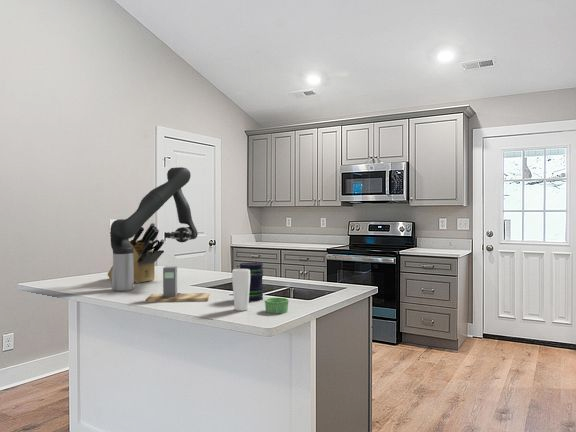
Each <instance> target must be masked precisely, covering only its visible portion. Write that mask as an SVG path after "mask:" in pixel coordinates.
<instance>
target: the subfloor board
mask: <svg viewBox="0 0 576 432" xmlns="http://www.w3.org/2000/svg"><path fill="white" fill-rule="evenodd" d="M210 296H211V293H210V292H200V293H199V292H195V293H194V292H191V293H181V292H177V296H176V297H163V293H151V294H150V295H149V296H147V297H146V299H145V303H178V302H180V303H181V302H185V303H187V302H208V301H209V299H210Z"/></svg>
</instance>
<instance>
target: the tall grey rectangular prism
mask: <svg viewBox="0 0 576 432" xmlns="http://www.w3.org/2000/svg"><path fill="white" fill-rule="evenodd" d="M162 278H163V279H162V288H163V289H162V291H163V293H162V294H163V297H176V296H177V293H178V266H164V267H162Z"/></svg>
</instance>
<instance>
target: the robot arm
mask: <svg viewBox="0 0 576 432" xmlns="http://www.w3.org/2000/svg"><path fill="white" fill-rule="evenodd" d="M191 174H192V173H191V172H190V170H189V169H188V168H186V167H182V166H181V167H180V166H179V167H171V168H169V169H168V170H167V174H166V178H167V181H166V182H164V183H163V184H160V185H158V186H157V187H154V188H153V189H151V190H150V191H149V192H148V193H147V194H146V195H144V196H143V198H142V199H141V201H140V202H139V204H138V207H137V209H136V210H135V211H134V212H133V213H132V214H131V215H130V216H129V217H128V218H125V219H124V218H123V219H122V218H121V219H115V220H114V221H113V222H112V223H111V225H110V229H109V231H110V232H109V233H110V246H111V249H112V266H113V270H112V279H111V291H112V292H113V291H115V292H125V291H133V290H134V287H135V285H134V284H135V282H134V249H133V247H132V246H131V245H130V243H129V241H130V239H131V238H134V236H135V234H136V233H137V232H138V231H139V229H140V228H141V227H143V226H144V224H145V223H146V222H147V221H149V220H150V218H151V217H153V215H155V213H156V212H157V211H159V210H160V209H161V208H162V207H163V206H164V205H165V203H167V202H168V201H169V199H171V198H172V197H173V200H174V203H175V208H176V213H177V218H178V219H177V220H178V222H179V224H182V225H187V226H186V227H185V226H182V227H181V226H180V227H178V228H177V229H175V231H171V232H169V231H168V232H164V239H171V240H175V241H176V242H178V243H186V242H188V241H189V240H195V239H197V237H198V234H199V232H198V230H197V228H196V226H195V223H194V221H193V217H192V212H191V208H190V204H189V202H188V200H187V199H186V197H185V195H184V193H183V190H182V188H184V186H186V185H187V184H188V183H189V182H190V179H191V176H192V175H191Z"/></svg>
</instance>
